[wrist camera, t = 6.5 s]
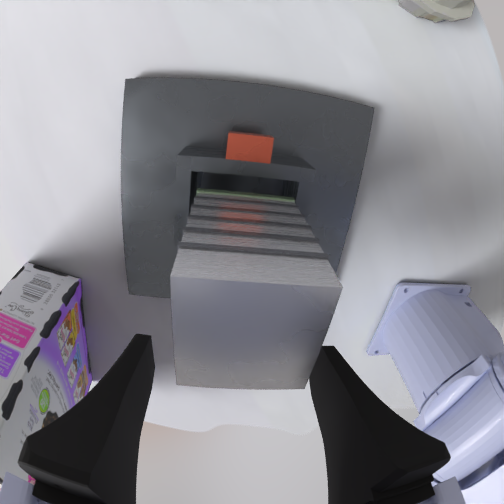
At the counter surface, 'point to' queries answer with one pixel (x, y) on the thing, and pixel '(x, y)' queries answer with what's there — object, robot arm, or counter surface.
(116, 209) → the counter surface
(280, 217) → the column
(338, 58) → the counter surface
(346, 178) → the stand
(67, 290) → the candy box
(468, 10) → the grey elongated piece
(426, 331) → the robot arm
